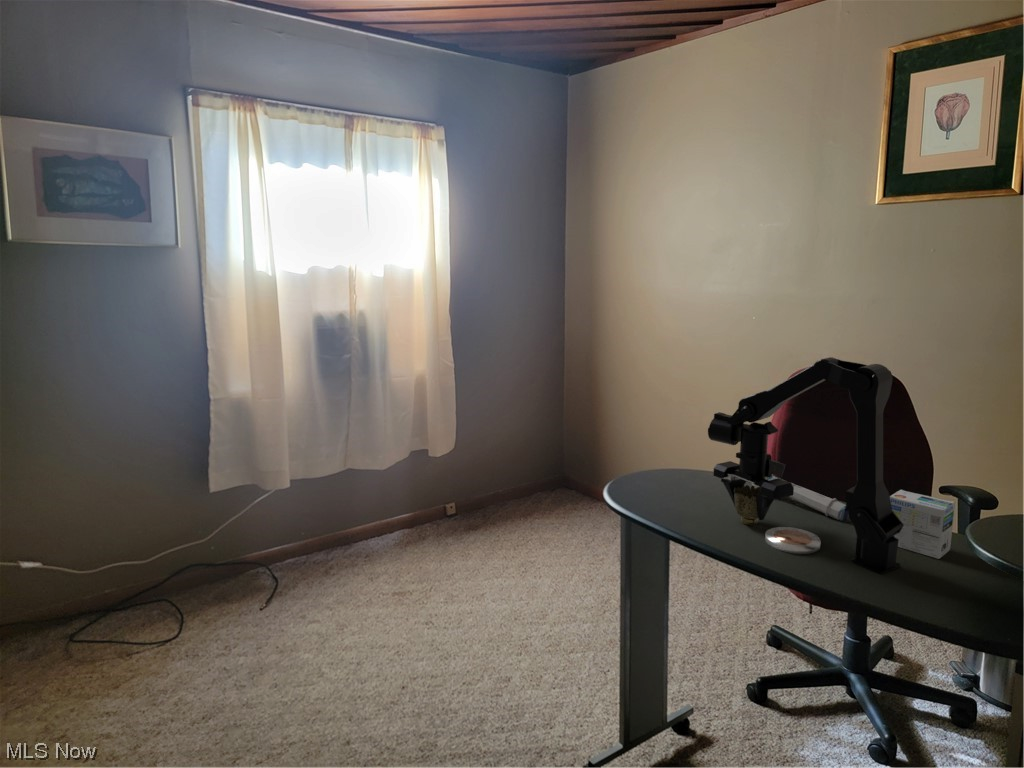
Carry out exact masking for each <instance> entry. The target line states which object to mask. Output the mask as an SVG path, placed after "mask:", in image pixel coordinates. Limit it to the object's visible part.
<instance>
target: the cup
mask: <svg viewBox="0 0 1024 768" xmlns="http://www.w3.org/2000/svg"><path fill="white" fill-rule="evenodd" d="M756 493H761V487H760V486H759V487H757V488H755V487H754V486H752V485H751V487H750V485H748V484H747V485H743V486H742V487H741V489H740V487H739V486H738V488H734V497H735V506H734V508H735V507H736V508H735V510H736V513H737V514H738V515H739V516H740V517H741V518H740V520H741V523H742V524H743V525H749V526H755V525H757V524H758V522H759V517H758V511H757V502H756Z"/></svg>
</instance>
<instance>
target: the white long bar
mask: <svg viewBox="0 0 1024 768" xmlns="http://www.w3.org/2000/svg"><path fill="white" fill-rule="evenodd" d="M777 478H779V479H781V477H778V476H776V475H773V474H772V477H765V479H766V480H773V479H777ZM791 483H792V485H793V486H794V492H793V495H792V496H788V497H789V498H791V499H793V500H795V501H798V502H800V503H801V504H804V505H805V506H808V507H810V508H812V509H814V510H816V511H817V512H821V513H823V514H824V515H825V516H826V517H831V518H832V519H835V520H838V521H840V522H842V521H845V520H847V519H848V518H849V517H848V511H845V508H846V503H843V502H840V501H838V499H837V498H835V497H834V498H831V497H828V496H825V495H823V494H820V493H818V492H815V491H813V490H812V489H811V490H810V489H808V488H806V487H803V486H800V485H797V484H795V483H793V482H791ZM750 484H751V487H752V486H754V487H755V488H757V487H759V486H757V485H755V484H752V483H750Z"/></svg>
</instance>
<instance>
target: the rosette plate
mask: <svg viewBox="0 0 1024 768" xmlns="http://www.w3.org/2000/svg"><path fill="white" fill-rule="evenodd" d="M764 541H765V543H766V544H767V545H769V546H770V547H772V548H773V549H775V550H778V551H781V552H783V553H784V552H785V553H789V554H795V555H807V554H814V553H816V552H818V551H820V550H821V538H820V537H819V536H818V535H817V534H814V533H813V532H810V531H809V530H805V529H801V528H796V527H790V526H788V527H787V526H777V527H772V528H769V529H767V530H766V531H765V534H764Z"/></svg>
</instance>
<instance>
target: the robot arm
mask: <svg viewBox="0 0 1024 768" xmlns="http://www.w3.org/2000/svg"><path fill="white" fill-rule="evenodd" d="M825 381H829V382H830V383H832V384H834V385H836V386H838V387H841V388H845V389H848V394H849V399H850V401H851V403H852V405H853V407H854V409H855V412H856V483H855V486H853V487H851V488H849V489H848V490H845V493H844V495H845V502H846V503H845V505H846V508H845V511H848V517H847V518H848V519H849V521H850V522H851V523H852V524H853V527H854V530H855V533H856V539H855V540H856V541H855V550H854V551H855V553H854V554H855V555H854V556H855V557H852V558H851V562H852V563H855V564H857V565H859V566H862V567H863V568H865V569H868V570H871V571H873V572H875V573H876V574H880V575H882V574H885V573H888V572H891V571H893V570H896V569H898V568H901V566H902V565H901V563H899V562H897V557H898V548H899V547H898V540H899V539H897V538H895V537H894V535H896V534H898V533H900V531H901V530H902V528H903V526H904V524H903V523H902V522H901V521H900V519H899V518H898V517H897V516H896V514H895V513H894V512H893V511H892V506H891V501H890V496H891V495H890V492H889V491H888V489H887V487H886V484H885V481H884V410H885V408H886V406H887V402H888V401H889V398H890V395H891V391H892V385H893V374H892V371H891V370H889V369H888V367H886V366H884V365H882V364H880V363H872V364H863V363H860V362H859V363H858V362H854V361H846V360H843V359H838V358H836V357H831V356H830V357H825V358H821V359H818V360H817V361H815V362H814V363H813V364H812V365H810V366H808V367H807V368H804V369H803V370H802V371H799V372H797V373H795V374H794V375H792V376H791V377H789V378H787V379H786V380H784V381H782V382H781V383H779V384H777V385H776V386H774V387H772V388H770V389H766V390H763V391H761V392H757V393H753V394H751V395H748V396H745V397H743V398H741V399H740V400H739V402H738V407H737V409H736V411H734V413H733V414H732V415H730V414H726V413H725V412H715V413H714V414H713V419H711V421H710V423H709V426H708V428H707V435H708V438H709V439H710V441H713V442H718V443H722V444H726V445H727V444H728V445H729V446H730V445H731V446H736V445H738V443H739V442H740V446H739V448H740V449H739V452H736V453H735V458H737V459H739V463H736V462H734V461H732V460H731V461H725V462H720V463H716V464H715V466H714V467H713V474H712V475H713V476H714V477H716V478H719V479H720V482H721V483H723V485H724V486H725V489H726V490H727V493H728V495H729V497H730V499H731V501H732V503H733V505H734V508H735V509H736V507H735V497H734V488H738V486H739V487H740V489H741V487H742V486H743V485H744V486H746V485H745V484H746V483H750V484H751V483H752V484H755V485H757V486H760V487H761V493H756V502H757V511H758V517H759V518H758V521H763V520H765V517H766V516H767V513H768V512H769V510H770V507H771V505H772V504H773V502H774V501H775V500H779V499H783V498H788V497H789V496H792V495H793V492H794V486H793V485H792V483H793V482H790V481H787V480H784V479H783V478H782V477H783V474H784V472H785V467H786V463H785V464H784V463H783V462H782V463H781V462H780V461H776V460H773V458H772V455H771V454H769V453H768V445H769V444H768V442H769V441H768V440H769V439H768V438H769V436H770V435H773V434H776V433H778V432H779V429H778V428H777V427H776V426H775V425H774V424H773V423H772V421H768V422H765V423H759V422H758V421H761V420H764V419H768V418H770V417H771V416H773V415H774V414H775V413H776V412H777V411H779V410H780V409H781V408H782V406H783V405H784V404H785V403H787V402H788V401H790V400H791V399H793V398H795V397H798V396H799V395H801V394H803V393H804V392H806V391H808V390H810V389H812V388H813V387H816V386H817V385H820V384H821V383H823V382H825ZM747 422H748V423H749V424H748V423H747ZM772 474H773V476H776V477H777V479H773V480H766V479H765V477H772ZM779 478H780V479H779ZM752 484H751V485H752Z"/></svg>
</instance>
